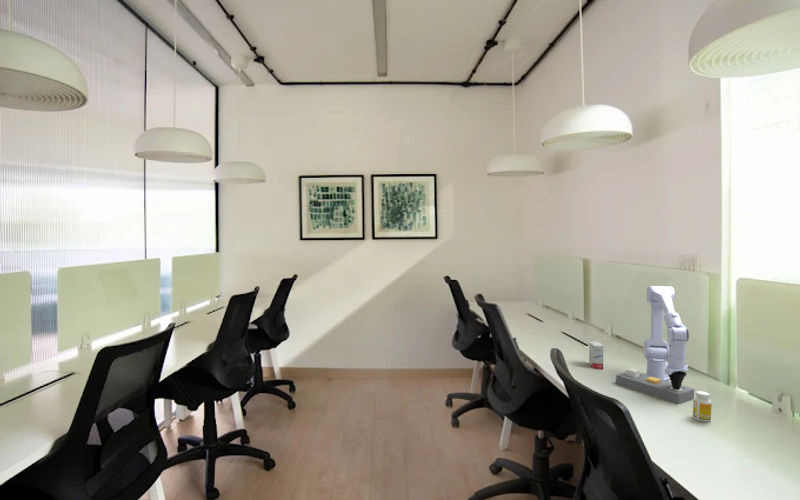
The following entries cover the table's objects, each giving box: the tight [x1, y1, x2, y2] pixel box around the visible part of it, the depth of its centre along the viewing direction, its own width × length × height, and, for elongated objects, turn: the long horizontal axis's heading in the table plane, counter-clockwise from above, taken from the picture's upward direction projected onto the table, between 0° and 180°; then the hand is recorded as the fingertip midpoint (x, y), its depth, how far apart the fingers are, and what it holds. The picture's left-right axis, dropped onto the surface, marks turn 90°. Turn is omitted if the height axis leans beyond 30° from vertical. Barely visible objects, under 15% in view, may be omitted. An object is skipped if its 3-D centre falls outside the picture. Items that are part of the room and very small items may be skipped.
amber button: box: [646, 377, 661, 384], centre depth 176 cm, size 4×4×4 cm
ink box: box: [588, 341, 604, 370], centre depth 209 cm, size 9×5×12 cm, turn 168°
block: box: [625, 367, 641, 378], centre depth 184 cm, size 4×4×4 cm
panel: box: [615, 371, 695, 405], centre depth 176 cm, size 12×26×4 cm, turn 30°
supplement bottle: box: [692, 390, 713, 423], centre depth 149 cm, size 5×5×10 cm
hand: (676, 388), depth 169 cm, fingers closed, pressing on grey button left
